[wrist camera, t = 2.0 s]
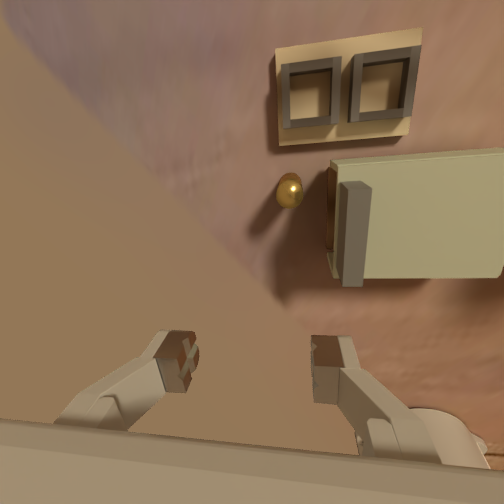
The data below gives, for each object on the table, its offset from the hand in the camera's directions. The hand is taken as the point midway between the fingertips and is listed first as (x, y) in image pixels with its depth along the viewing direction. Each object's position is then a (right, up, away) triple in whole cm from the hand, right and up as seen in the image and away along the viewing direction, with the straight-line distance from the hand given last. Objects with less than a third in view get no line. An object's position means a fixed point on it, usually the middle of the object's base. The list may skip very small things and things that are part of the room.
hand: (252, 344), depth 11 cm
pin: (+4, +11, +18) cm, 21 cm away
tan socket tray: (+8, +19, +14) cm, 25 cm away
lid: (+15, +8, +16) cm, 24 cm away
